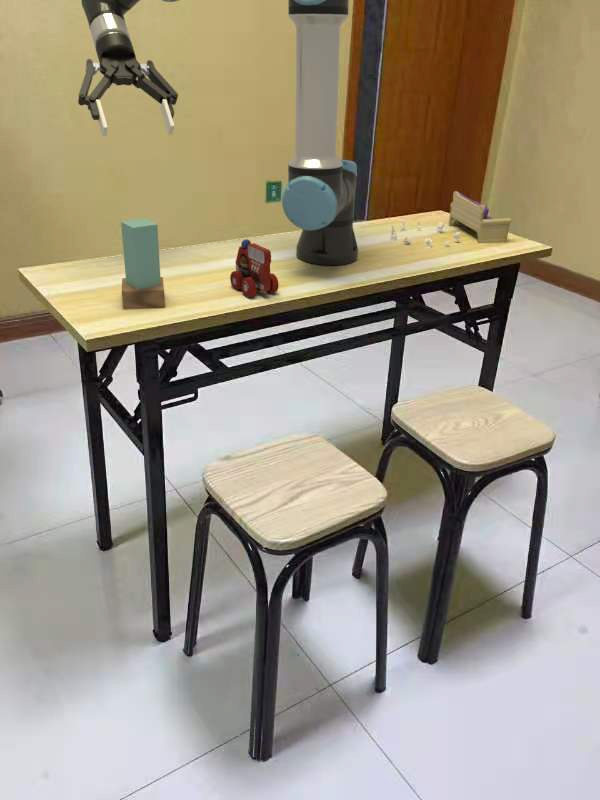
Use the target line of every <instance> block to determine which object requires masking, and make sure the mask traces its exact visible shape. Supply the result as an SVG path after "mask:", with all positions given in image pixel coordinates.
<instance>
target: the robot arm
mask: <svg viewBox="0 0 600 800" xmlns="http://www.w3.org/2000/svg"><path fill="white" fill-rule="evenodd" d="M140 1H141V0H81V5H82V6H81V7H82V8H83V12H84V14H85V16H86V20H87V23H88V26H89V30H90V34H91V37H92V41H93V45H94V48H95V52H96V55H97V59H98V62H93V60H92V59H90V58H88V59H86V61H85V62H86V63H85V75H84V77H83V80H82V82H81V83H82V84H81V86H80V89H79V92H78V101H77V103H78V105H79V106H87V109H88V111H89V112H90V115H91V118H92V120H93V121H97V122H98V125H99V130H100V132H101V136H102V137H107V135H108V130H109V129H108V128H109V127H108V124H107V123H108V122H107V120H106V117H105V113H104V110H103V107H102V104H101V99H102V97H103V95H104V94H106V92H107V91H108V89H110V87H111V86H112V84H113V85H114V84H115V85H116V86H122V85H124V86H134V87H135V88H137V89H141V90H142V91H143V92H145V94H147V95H148V96H149V97H150V98H152V99H154V101H156V102H157V103H159V104H160V111H161V115H162V119H163V121H164V125H165V127H166V128H165V129H166V131H167V135H169V136H170V135H171V136H172V135H173V133H174V129H175V123H174V120H173V119H174V116H175V110H174V107H173V106H175V105H176V104H177V101H178V98H179V94H178V92H177V91H176V89H174V88H173V86H171V84H170V83H169V82H168V81H167V80H166V79H165V78H164V77H163V75H162V74H161V73H160V72H159V71H158V70H157V68H156V66H155V64H154V62H153V61H152V60H150V59H149V60H146V63H139V61H138V60H137V57H136V54H135V53H136V52H135V49H134V47H133V43H132V41H131V36H130V34H129V30H128V27H127V24H126V21H125V20H126V19H125V17H124V15H125V14H126V13H128V12H129V11H130V10H131V9H132V8H134V6H136V5H137V4H138V3H139V2H140ZM162 1H163V2H168V3H174V2H177V1H179V0H162ZM349 2H350V0H288V5H287V6H288V17H289V19H290V20H291V21H292V23H293V24H294V25H295V27H296V28H295V31H296V32H295V50H296V51H295V154H294V156H293V157H292V158H291V159H290V160H289V161H288V164H287V165H288V168H287V169H288V171H287V172H288V174H287V175H288V176H287V177H288V180H287V181H288V182H287V183H288V184H286V185H285V187H284V190H283V192H282V195H281V196H282V197H281V204H282V205H281V206H282V209H283V212H284V215H285V216H286V218H287V220H289V221H290V222H291V223H292V225H294V226H295V227H297V228H299V229H301V230H302V231H301V233H300V236H299V239H298V240H297V241H298V243H297V244H296V251H295V252H296V253H295V254H296V256H295V257H297V259H299V260H300V261H302V262H305V263H309V264H315V265H321V266H339V265H340V266H342V265H347V264H351V263H353V262H356V261H357V260H358V255H359V248H358V247H359V246H358V243H357V238H356V234H355V231H354V213H355V199H356V188H357V177H358V170H357V169H358V166H357V163H356V162H355V161H352V160H349V159H340V158H339V157H338V156H337V136H338V135H337V134H338V133H337V132H338V131H337V130H338V129H337V128H338V104H339V103H338V100H339V99H338V97H339V96H338V95H339V94H338V93H339V71H340V70H339V68H340V66H339V65H340V41H341V40H340V38H341V37H340V36H341V35H340V32H341V27H342V24H343V23H344V22H345V21H346V20H347V19H348V18H349V4H350V3H349ZM98 71H99V72H100V73H101V74H102V75H103V76H102V78H101V79H100V81H99V82H98V83H97V85H96V86H95V87H94V89H93V90H92V91H91V93H90V94H89V90H90V88H91V85H92V81H93V77H94V76H95V75H96V74H97V73H98Z"/></svg>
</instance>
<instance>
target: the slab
mask: <svg viewBox="0 0 600 800" xmlns="http://www.w3.org/2000/svg"><path fill="white" fill-rule="evenodd" d="M160 277H161V285H160V286H155V287H150V288H145V289H140V290H137V289H135V288H134V287H132V286H131V285H129V284H128V283H126V277H122V278H121V300H122V310H142V309H143V310H144V309H145V310H146V309H147V310H148V309H165V308H166V298H165V285H164V277H163V276H160Z"/></svg>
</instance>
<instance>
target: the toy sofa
mask: <svg viewBox="0 0 600 800" xmlns="http://www.w3.org/2000/svg"><path fill="white" fill-rule="evenodd" d="M489 212H490V210H489V206H487V205H485V204H481V203H479V202H478V201H475V200H472V199H471V198H469V197H467V196H465V195H464V194H462V193H461V192H460V191H456V190H455V191H453V195H452V201H451V202H450V212H449V218H448V226H451V227H452V226H467V227H468V228H470V229H472V230H473V231H474V232H476V236H477V244H500V243H507V242H508V238H509V237H508V236H509V230H510V225H511V223H512V218H511V217H506V218H493V217H491V216H488V214H489Z"/></svg>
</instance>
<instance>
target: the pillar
mask: <svg viewBox="0 0 600 800" xmlns="http://www.w3.org/2000/svg"><path fill="white" fill-rule="evenodd" d="M120 224H121V226H120V227H121V238H122V247H123V248H122V249H123V250H122V251H123V261H124V262H123V263H124V273H125V278H126V283H128V284H129V285H131V286H132V287H134V288H135V289H137V290H140V289H145V288H150V287H155V286H160V285H161V277H162V276H161V266H160V265H161V264H160V263H161V262H160V249H159V248H160V247H159V229H158V227H159V226H158V223H155V222H153V221H152V220H149V219H147V218H140V219H139V218H138V219H132V220H125V221H121V222H120Z"/></svg>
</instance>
